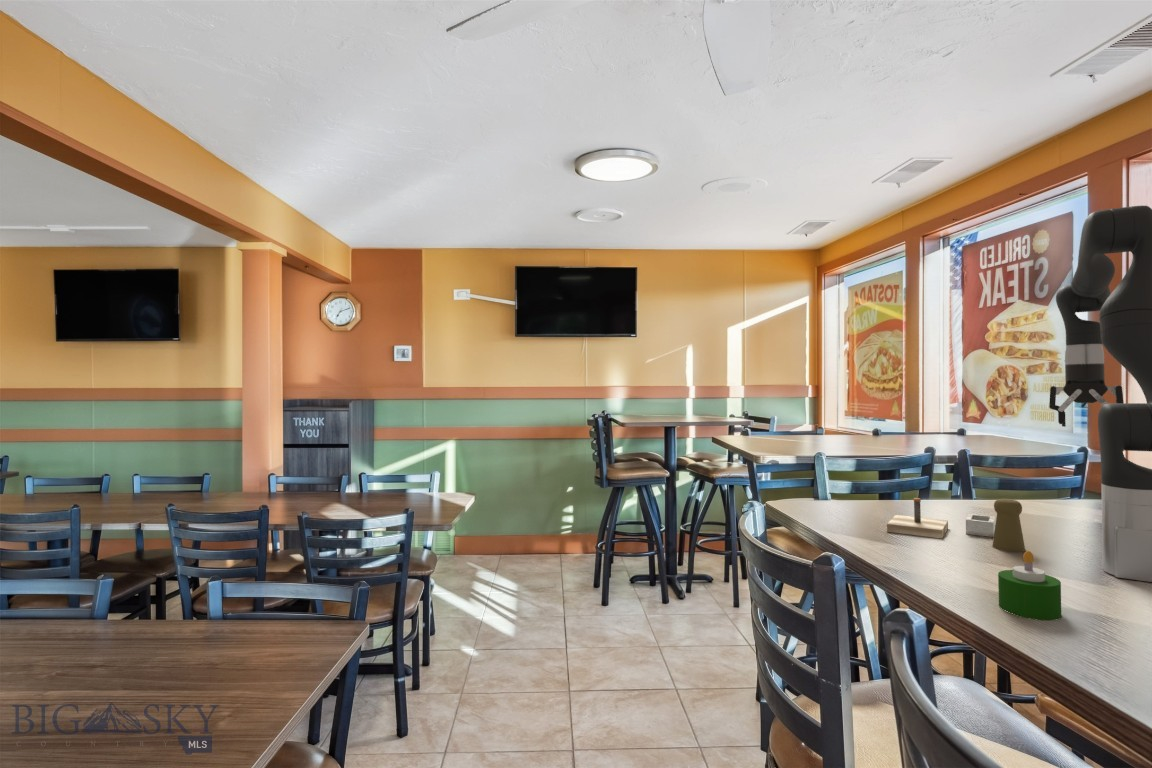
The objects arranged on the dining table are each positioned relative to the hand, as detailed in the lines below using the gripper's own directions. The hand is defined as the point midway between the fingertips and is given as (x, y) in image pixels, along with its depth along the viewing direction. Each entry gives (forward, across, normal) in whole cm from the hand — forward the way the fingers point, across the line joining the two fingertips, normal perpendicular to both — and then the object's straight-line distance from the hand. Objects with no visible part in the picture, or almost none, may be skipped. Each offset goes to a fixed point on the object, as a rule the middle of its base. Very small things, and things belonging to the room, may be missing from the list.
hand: (1085, 426), depth 149 cm
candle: (+27, -10, -73) cm, 79 cm away
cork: (+26, -15, -31) cm, 43 cm away
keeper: (+26, -34, -24) cm, 49 cm away
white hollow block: (+26, -21, -18) cm, 38 cm away
